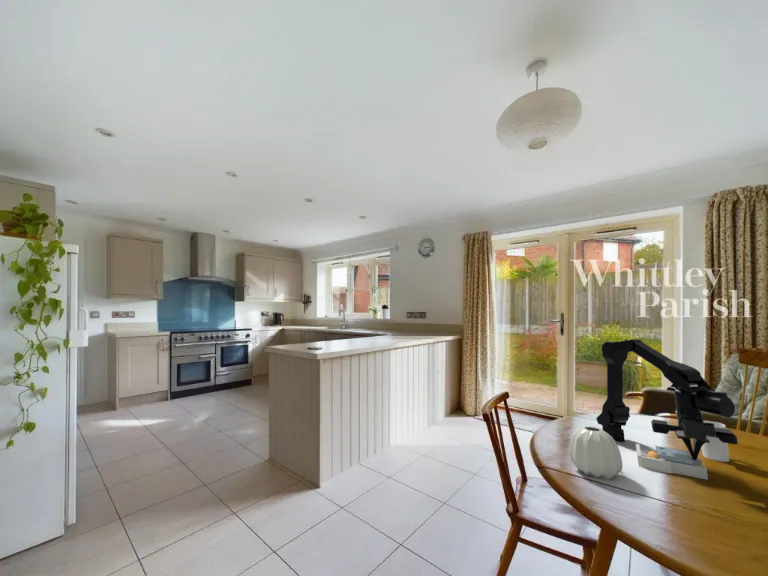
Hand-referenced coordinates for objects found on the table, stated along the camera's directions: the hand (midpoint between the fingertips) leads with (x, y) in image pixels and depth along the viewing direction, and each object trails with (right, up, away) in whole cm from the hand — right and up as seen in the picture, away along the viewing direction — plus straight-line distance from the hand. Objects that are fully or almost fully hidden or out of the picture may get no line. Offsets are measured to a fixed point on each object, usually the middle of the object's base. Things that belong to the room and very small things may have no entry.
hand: (694, 459), depth 97 cm
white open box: (-2, -5, +6) cm, 8 cm away
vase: (-29, -6, +2) cm, 30 cm away
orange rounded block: (-7, -5, +6) cm, 11 cm away
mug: (+18, -6, +11) cm, 22 cm away
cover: (-4, -1, +3) cm, 5 cm away
